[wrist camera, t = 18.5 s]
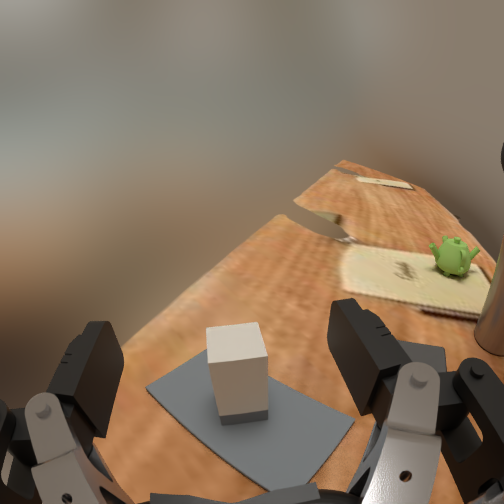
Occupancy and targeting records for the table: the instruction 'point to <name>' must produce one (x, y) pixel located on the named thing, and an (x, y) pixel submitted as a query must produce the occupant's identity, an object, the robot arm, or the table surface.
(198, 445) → the table surface
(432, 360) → the smartphone
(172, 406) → the desk mat
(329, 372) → the table surface
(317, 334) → the table surface
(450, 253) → the teapot
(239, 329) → the block
